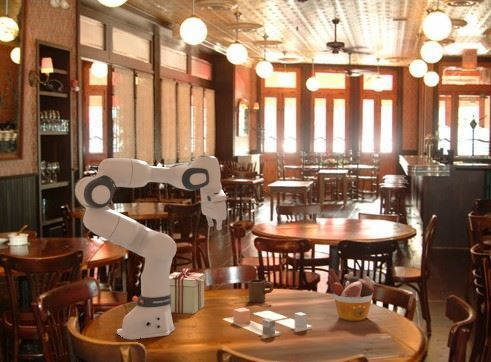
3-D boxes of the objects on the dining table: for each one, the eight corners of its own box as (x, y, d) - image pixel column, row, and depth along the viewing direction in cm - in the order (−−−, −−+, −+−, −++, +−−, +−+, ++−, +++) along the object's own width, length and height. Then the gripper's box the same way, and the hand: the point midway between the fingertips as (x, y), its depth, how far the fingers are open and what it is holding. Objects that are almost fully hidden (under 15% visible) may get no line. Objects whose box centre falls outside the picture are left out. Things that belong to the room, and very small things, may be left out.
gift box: (204, 314, 287) (203, 274, 286) (162, 313, 290) (161, 274, 289) (212, 304, 304) (211, 267, 303) (172, 304, 307) (171, 266, 306)
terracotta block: (240, 324, 265) (239, 312, 265) (233, 321, 269) (233, 309, 269) (250, 322, 268) (250, 310, 267) (243, 319, 272) (243, 307, 272)
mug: (276, 300, 310) (276, 280, 309) (270, 304, 303) (270, 283, 302) (252, 298, 314) (252, 278, 314) (246, 302, 308) (245, 281, 307)
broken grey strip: (295, 332, 257) (295, 316, 256) (252, 316, 282) (252, 301, 282) (312, 329, 261) (311, 313, 261) (268, 313, 286) (268, 298, 286)
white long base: (263, 338, 249) (262, 322, 248) (222, 321, 274) (221, 306, 274) (280, 334, 253) (280, 319, 253) (238, 318, 278) (238, 304, 278)
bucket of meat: (380, 315, 281) (379, 267, 280) (371, 325, 266) (370, 275, 265) (333, 310, 289) (333, 265, 288) (322, 320, 274) (322, 272, 273)
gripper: (196, 192, 280) (199, 225, 282) (213, 198, 262) (216, 233, 264) (210, 190, 283) (213, 222, 285) (227, 196, 264) (231, 230, 266)
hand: (215, 227), depth 274 cm, fingers open, 8 cm apart
